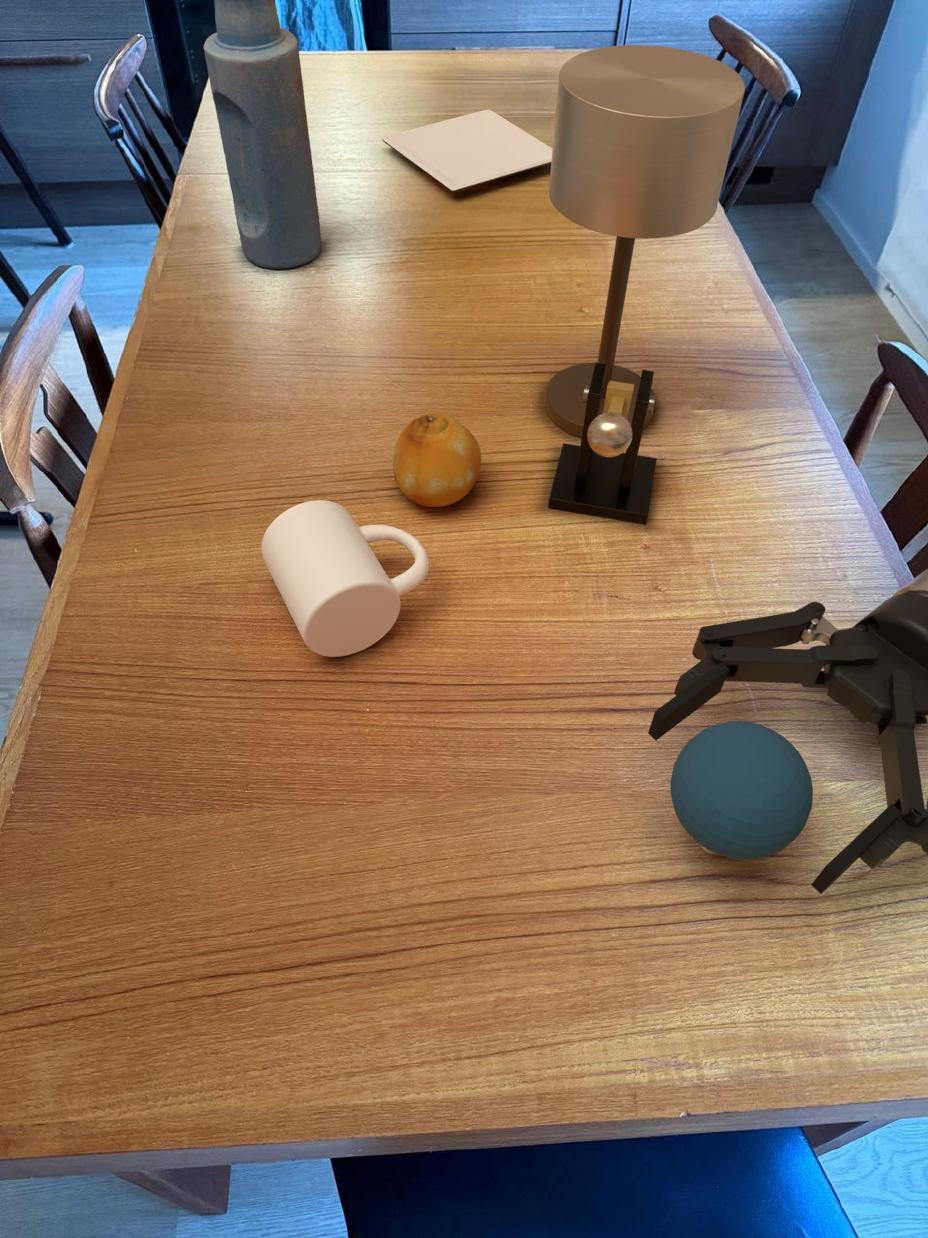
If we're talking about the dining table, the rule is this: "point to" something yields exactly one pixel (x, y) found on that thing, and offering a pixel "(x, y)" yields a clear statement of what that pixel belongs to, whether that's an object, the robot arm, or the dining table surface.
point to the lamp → (635, 172)
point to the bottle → (264, 133)
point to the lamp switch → (612, 422)
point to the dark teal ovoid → (741, 790)
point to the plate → (470, 150)
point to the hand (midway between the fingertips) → (733, 799)
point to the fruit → (436, 460)
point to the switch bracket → (607, 464)
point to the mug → (337, 576)
